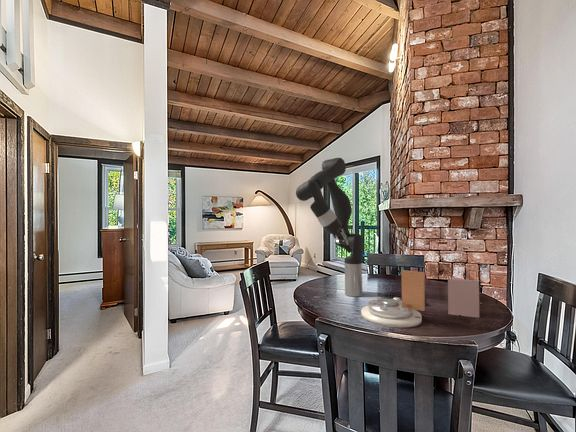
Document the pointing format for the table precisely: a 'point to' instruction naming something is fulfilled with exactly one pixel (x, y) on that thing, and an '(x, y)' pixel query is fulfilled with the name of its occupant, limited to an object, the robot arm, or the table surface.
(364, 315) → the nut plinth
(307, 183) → the robot arm
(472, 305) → the greeting card
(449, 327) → the table surface
